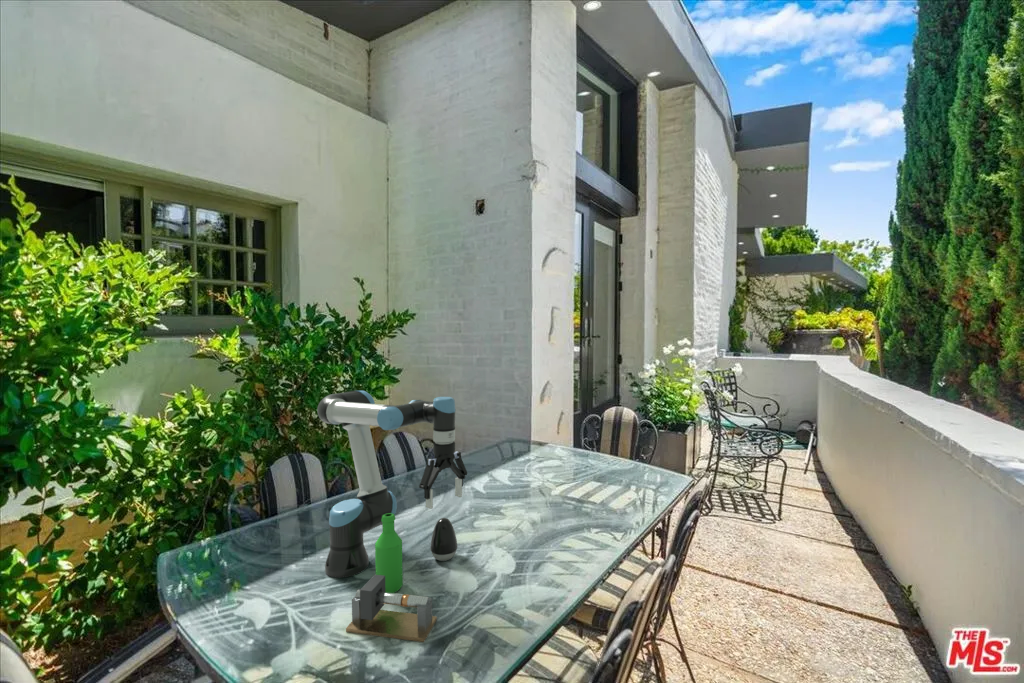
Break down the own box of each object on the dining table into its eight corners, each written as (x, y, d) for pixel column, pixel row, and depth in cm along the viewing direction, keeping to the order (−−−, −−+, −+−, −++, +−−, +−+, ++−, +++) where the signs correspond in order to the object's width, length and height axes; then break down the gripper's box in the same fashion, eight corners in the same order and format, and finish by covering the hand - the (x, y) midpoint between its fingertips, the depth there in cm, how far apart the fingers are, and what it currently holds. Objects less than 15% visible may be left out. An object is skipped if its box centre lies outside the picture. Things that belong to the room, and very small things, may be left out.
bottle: (405, 580, 157) (404, 509, 156) (399, 595, 148) (398, 519, 148) (379, 581, 157) (378, 510, 156) (372, 596, 148) (371, 520, 147)
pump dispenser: (432, 566, 166) (431, 525, 166) (429, 553, 176) (428, 514, 176) (459, 562, 169) (458, 522, 169) (455, 549, 179) (454, 511, 179)
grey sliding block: (360, 618, 130) (359, 589, 130) (374, 601, 138) (374, 574, 138) (371, 620, 129) (371, 591, 129) (385, 602, 138) (385, 575, 138)
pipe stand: (345, 631, 130) (345, 599, 130) (364, 610, 140) (363, 580, 140) (423, 642, 125) (423, 608, 125) (436, 619, 135) (436, 588, 135)
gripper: (422, 450, 145) (423, 515, 146) (477, 436, 164) (476, 494, 165) (408, 446, 150) (408, 509, 151) (462, 433, 169) (462, 489, 170)
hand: (444, 501), depth 158 cm, fingers open, 13 cm apart
